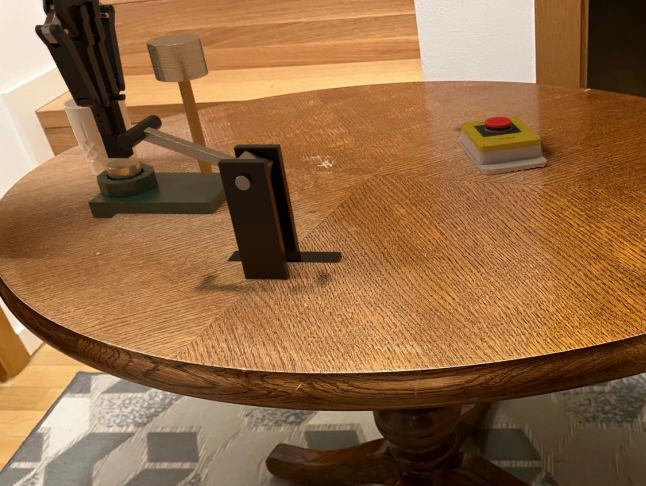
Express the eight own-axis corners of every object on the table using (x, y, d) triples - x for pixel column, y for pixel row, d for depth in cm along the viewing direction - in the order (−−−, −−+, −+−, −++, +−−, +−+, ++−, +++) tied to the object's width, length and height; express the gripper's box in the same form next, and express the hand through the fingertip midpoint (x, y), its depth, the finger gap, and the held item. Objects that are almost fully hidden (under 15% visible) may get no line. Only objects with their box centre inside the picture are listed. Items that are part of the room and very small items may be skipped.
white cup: (85, 166, 108) (61, 97, 103) (140, 155, 111) (120, 88, 106) (89, 183, 103) (64, 111, 97) (147, 171, 105) (126, 101, 100)
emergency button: (515, 104, 110) (550, 135, 98) (515, 133, 112) (549, 166, 100) (455, 111, 108) (483, 143, 96) (456, 140, 110) (483, 175, 98)
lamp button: (103, 182, 93) (99, 168, 92) (119, 170, 96) (115, 157, 95) (133, 182, 92) (129, 168, 91) (148, 170, 95) (144, 157, 94)
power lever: (116, 151, 67) (117, 127, 66) (146, 130, 72) (148, 107, 71) (255, 199, 68) (259, 176, 67) (275, 175, 73) (279, 153, 72)
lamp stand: (174, 182, 90) (136, 46, 81) (194, 164, 95) (160, 34, 86) (220, 182, 90) (187, 44, 81) (238, 164, 95) (208, 33, 86)
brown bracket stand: (205, 301, 74) (168, 170, 66) (237, 259, 81) (207, 137, 73) (320, 304, 72) (297, 170, 65) (342, 261, 80) (324, 136, 72)
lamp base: (90, 218, 92) (79, 188, 90) (128, 187, 101) (119, 159, 98) (214, 219, 90) (206, 188, 88) (242, 187, 99) (236, 159, 96)
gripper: (51, -49, 73) (123, 175, 87) (115, -63, 84) (171, 138, 97) (-17, -46, 74) (65, 175, 88) (55, -60, 85) (118, 139, 98)
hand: (121, 156), depth 93 cm, fingers closed
